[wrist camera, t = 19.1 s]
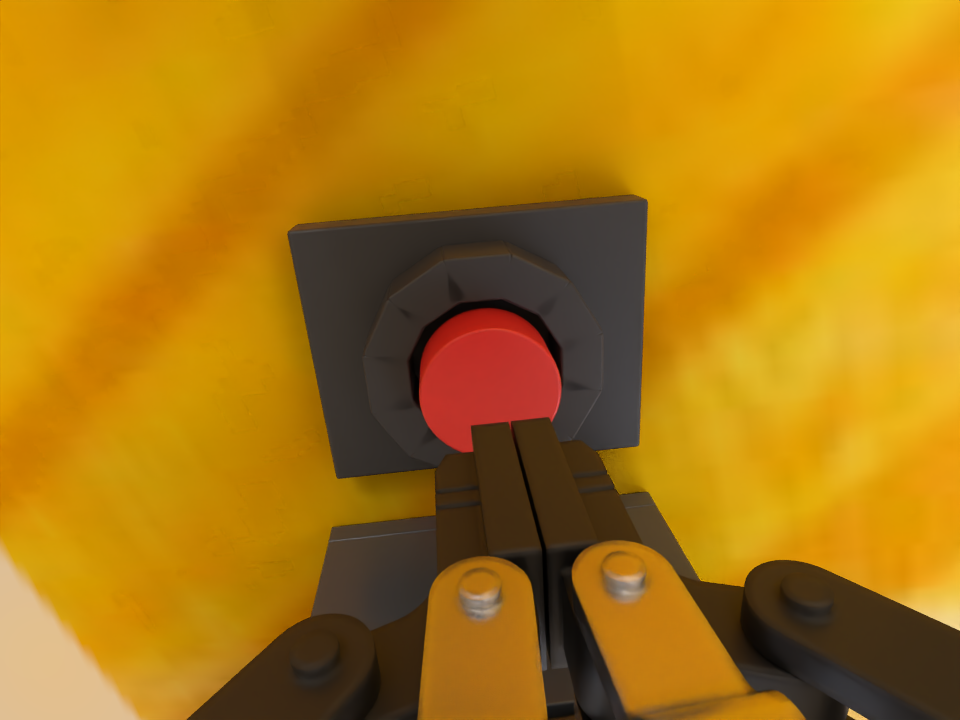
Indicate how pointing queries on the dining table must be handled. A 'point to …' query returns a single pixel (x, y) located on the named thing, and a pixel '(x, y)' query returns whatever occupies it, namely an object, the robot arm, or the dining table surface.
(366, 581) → the dark grey lidded box
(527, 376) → the button
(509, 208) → the block
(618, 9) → the dining table surface
